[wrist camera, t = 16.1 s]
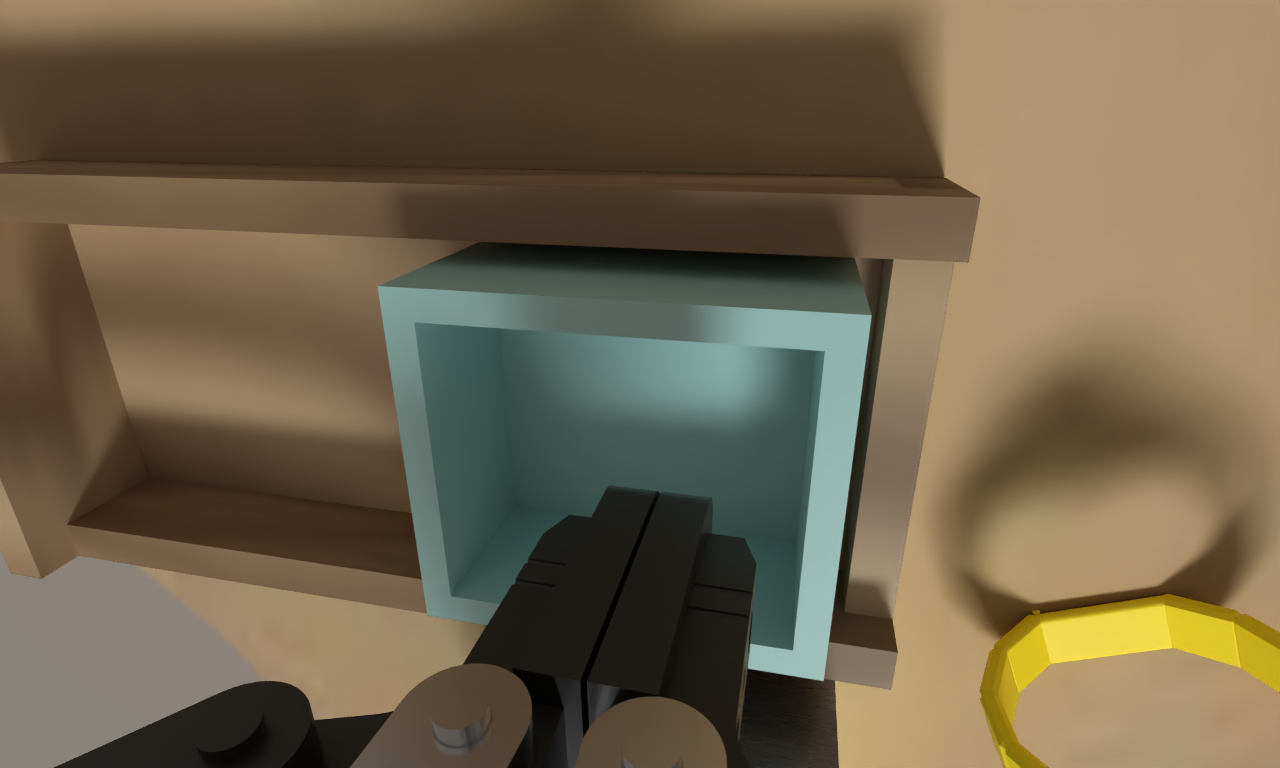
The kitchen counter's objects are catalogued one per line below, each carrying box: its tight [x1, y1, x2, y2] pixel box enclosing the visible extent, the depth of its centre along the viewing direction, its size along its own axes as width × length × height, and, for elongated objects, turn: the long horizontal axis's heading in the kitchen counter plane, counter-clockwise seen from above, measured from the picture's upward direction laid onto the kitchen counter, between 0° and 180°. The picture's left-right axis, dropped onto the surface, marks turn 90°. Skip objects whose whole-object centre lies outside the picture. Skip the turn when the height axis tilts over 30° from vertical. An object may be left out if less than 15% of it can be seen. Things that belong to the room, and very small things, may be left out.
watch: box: [980, 594, 1280, 768], centre depth 14 cm, size 6×3×6 cm, turn 112°
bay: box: [0, 160, 980, 690], centre depth 16 cm, size 10×22×4 cm, turn 90°
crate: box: [378, 242, 872, 681], centre depth 14 cm, size 7×8×4 cm
